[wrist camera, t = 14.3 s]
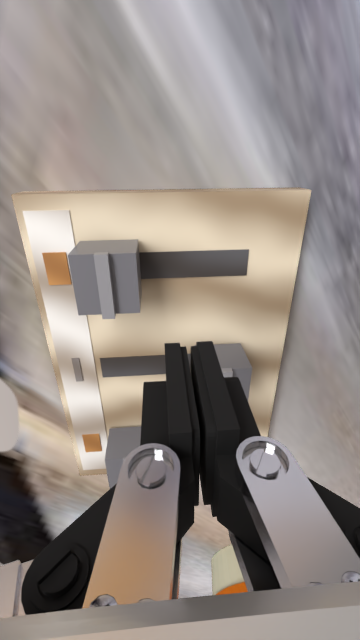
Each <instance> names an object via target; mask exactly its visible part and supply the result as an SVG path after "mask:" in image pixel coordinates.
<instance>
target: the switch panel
mask: <svg viewBox="0 0 360 640" xmlns="http://www.w3.org/2000/svg"><path fill="white" fill-rule="evenodd" d="M310 195H311V190H309V189H304V188H237V189H169V190H102V191H35V192H20V193H16V194H12V195H11V196H12V200H13V204H14V208H15V212H16V216H17V220H18V224H19V229H20V233H21V237H22V241H23V245H24V249H25V253H26V257H27V261H28V265H29V269H30V273H31V278H32V282H33V286H34V290H35V294H36V298H37V302H38V306H39V310H40V314H41V318H42V322H43V327H44V331H45V335H46V339H47V343H48V347H49V351H50V355H51V359H52V363H53V367H54V371H55V376H56V380H57V384H58V388H59V392H60V396H61V400H62V404H63V408H64V412H65V416H66V420H67V425H68V429H69V433H70V437H71V441H72V445H73V449H74V453H75V457H76V461H77V465H78V469H79V474H80V476H84V475H98V474H107V470H106V465H105V454H106V448H107V442H108V435H109V429H110V428H124V427H140V426H141V421H142V402H143V384H144V382H153V381H166V367H165V345H164V343H180V347H184V346H186V348H187V354H188V360H189V366H190V359H191V346H194V345H196V342H202V341H212V342H213V344H234V343H241V345H242V347H243V349H244V351H245V354H246V356H247V358H248V360H249V362H250V364H251V366H252V374H251V382H250V390H249V398H248V403H249V406H250V408H251V411H252V414H253V416H254V419H255V421H256V424H257V427H258V429H259V432H260V435H261V436H264V437H268V431H269V426H270V420H271V414H272V409H273V403H274V398H275V392H276V386H277V381H278V375H279V369H280V364H281V358H282V353H283V347H284V341H285V336H286V330H287V324H288V319H289V313H290V308H291V302H292V296H293V291H294V285H295V279H296V274H297V268H298V263H299V257H300V251H301V246H302V240H303V234H304V229H305V223H306V218H307V212H308V206H309V201H310ZM135 239H138V244H139V258H140V272H141V287H142V298H141V310H140V313H125V314H116V317H115V319H102V314H101V315H78V310H77V304H76V299H75V293H74V288H73V282H72V277H71V271H70V265H69V260H68V254H69V253H70V252H71V251H72V249H73V248H74V247H75V246H76V245H77V244H78V243H79V241H96V240H135Z"/></svg>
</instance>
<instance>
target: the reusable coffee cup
mask: <svg viewBox="0 0 360 640" xmlns="http://www.w3.org/2000/svg"><path fill="white" fill-rule="evenodd" d="M211 567H212V592H213V595H222V594H232V593H243V592H248V591H247V588H246V585H245V582H244V579H243V576H242V573H241V570H240V567H239V564H238V561H237V558H236V555H235V552H234V549H233V546H232V545H230V546H227V547H225V548H223V549H221V550H219V551H218V552H217V553H216V554H215V555H214V556H213V557H212V560H211Z"/></svg>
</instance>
